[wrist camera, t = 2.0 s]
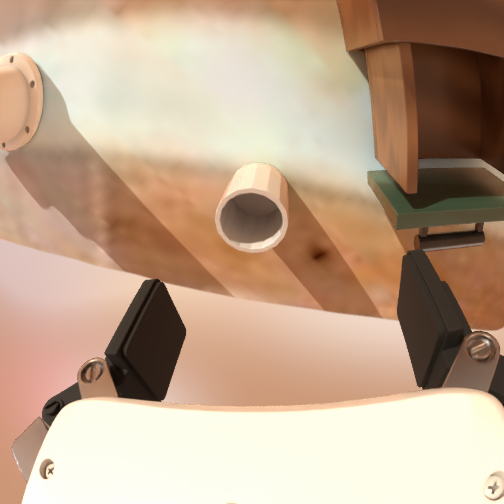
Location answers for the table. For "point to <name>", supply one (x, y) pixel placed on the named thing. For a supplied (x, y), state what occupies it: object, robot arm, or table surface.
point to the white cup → (254, 209)
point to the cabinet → (424, 23)
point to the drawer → (437, 138)
